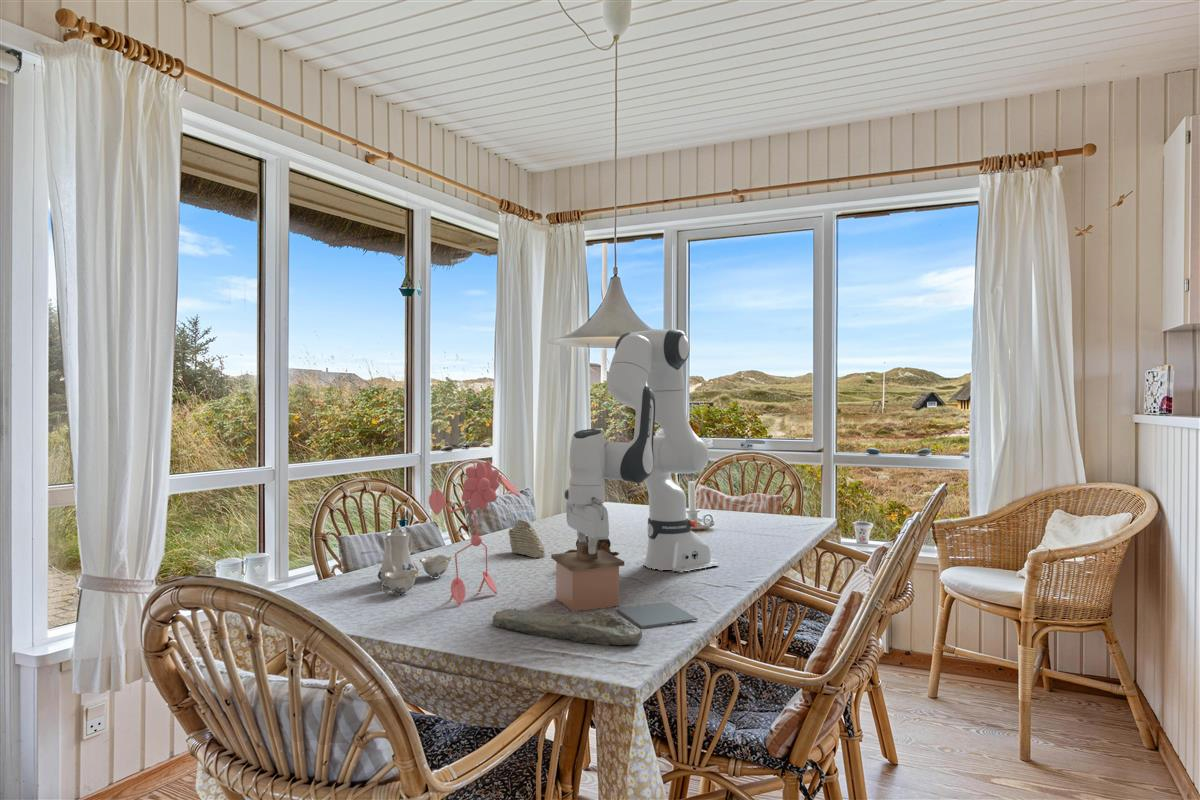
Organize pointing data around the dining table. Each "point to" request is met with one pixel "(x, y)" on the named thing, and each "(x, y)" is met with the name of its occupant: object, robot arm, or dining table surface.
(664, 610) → the grey mat
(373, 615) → the dining table surface
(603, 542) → the wooden carving
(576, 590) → the terracotta box
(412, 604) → the dining table surface
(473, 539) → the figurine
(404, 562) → the chinaware
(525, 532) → the fossil tooth
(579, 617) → the long grey stone
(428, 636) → the dining table surface
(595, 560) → the walnut lid
